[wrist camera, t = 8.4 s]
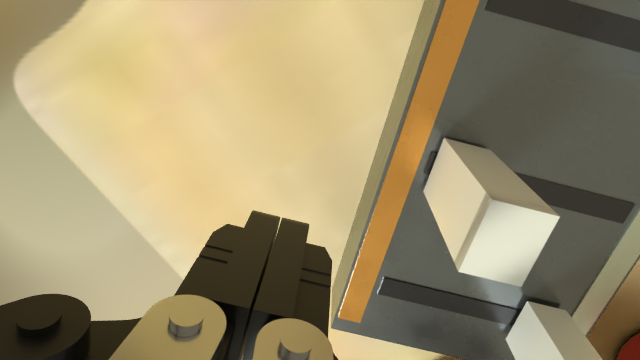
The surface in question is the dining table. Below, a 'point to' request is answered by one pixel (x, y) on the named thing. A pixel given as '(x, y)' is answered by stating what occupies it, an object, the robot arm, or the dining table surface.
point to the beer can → (630, 349)
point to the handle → (548, 336)
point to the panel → (518, 154)
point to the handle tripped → (487, 213)
